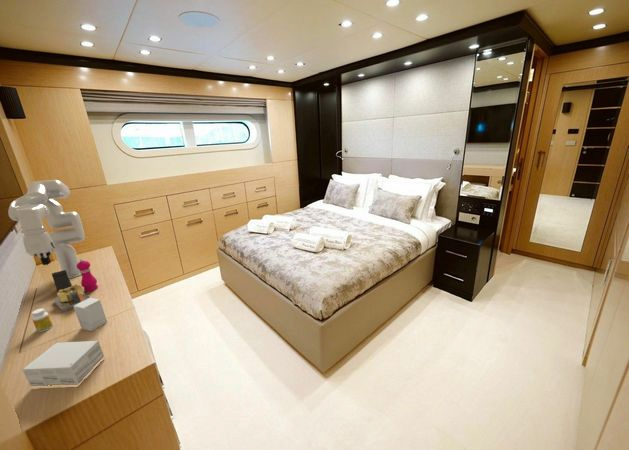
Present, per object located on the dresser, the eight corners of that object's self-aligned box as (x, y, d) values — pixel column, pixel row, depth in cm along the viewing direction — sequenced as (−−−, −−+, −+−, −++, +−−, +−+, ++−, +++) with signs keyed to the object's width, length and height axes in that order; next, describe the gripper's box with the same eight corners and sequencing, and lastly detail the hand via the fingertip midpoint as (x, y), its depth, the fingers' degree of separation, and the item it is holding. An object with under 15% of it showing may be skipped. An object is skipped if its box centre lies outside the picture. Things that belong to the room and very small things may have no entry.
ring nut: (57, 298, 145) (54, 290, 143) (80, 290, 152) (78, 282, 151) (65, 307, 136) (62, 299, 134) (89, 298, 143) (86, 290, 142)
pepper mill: (102, 286, 161) (92, 256, 155) (91, 292, 154) (81, 261, 148) (91, 285, 161) (81, 256, 155) (80, 292, 155) (69, 261, 148)
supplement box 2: (107, 321, 127) (100, 299, 124) (91, 331, 121) (83, 308, 117) (97, 319, 130) (90, 297, 126) (80, 328, 123) (72, 305, 119)
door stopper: (58, 288, 160) (52, 271, 156) (71, 285, 163) (65, 267, 160) (58, 294, 153) (51, 276, 149) (71, 290, 157) (65, 272, 153)
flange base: (54, 302, 145) (50, 293, 143) (81, 292, 154) (78, 283, 153) (62, 312, 136) (59, 302, 134) (91, 300, 145) (88, 291, 144)
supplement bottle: (42, 333, 121) (34, 315, 118) (34, 331, 122) (26, 313, 119) (55, 325, 126) (48, 308, 123) (47, 323, 127) (40, 306, 124)
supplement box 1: (106, 358, 105) (99, 339, 102) (78, 388, 93) (70, 367, 90) (64, 360, 105) (56, 341, 102) (30, 390, 93) (20, 369, 90)
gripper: (10, 235, 128) (24, 269, 134) (47, 232, 132) (59, 264, 137) (22, 231, 135) (35, 263, 141) (57, 227, 139) (68, 259, 144)
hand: (47, 263), depth 139 cm, fingers closed
